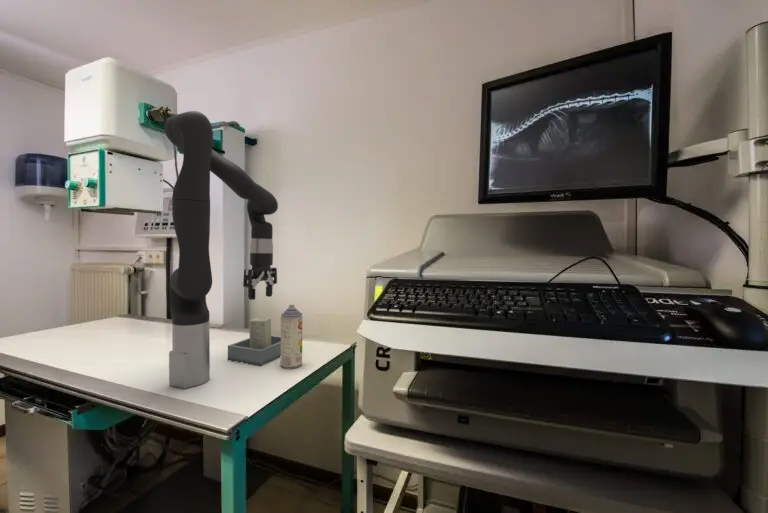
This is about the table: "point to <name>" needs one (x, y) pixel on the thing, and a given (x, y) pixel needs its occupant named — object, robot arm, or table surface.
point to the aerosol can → (291, 338)
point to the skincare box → (260, 333)
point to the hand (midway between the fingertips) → (260, 297)
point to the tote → (254, 352)
